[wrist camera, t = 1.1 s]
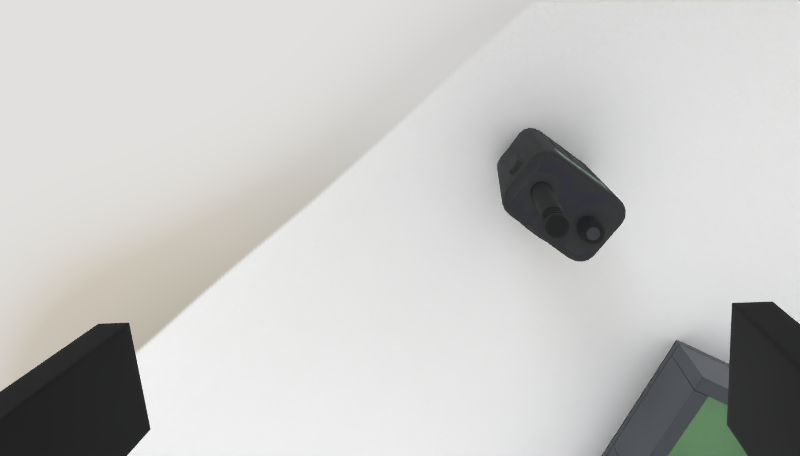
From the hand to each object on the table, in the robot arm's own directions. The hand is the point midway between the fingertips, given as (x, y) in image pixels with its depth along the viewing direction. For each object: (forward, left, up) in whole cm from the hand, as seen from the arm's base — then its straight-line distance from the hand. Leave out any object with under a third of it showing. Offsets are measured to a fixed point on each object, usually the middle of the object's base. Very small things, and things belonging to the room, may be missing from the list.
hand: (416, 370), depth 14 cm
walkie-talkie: (-3, +4, -23) cm, 23 cm away
